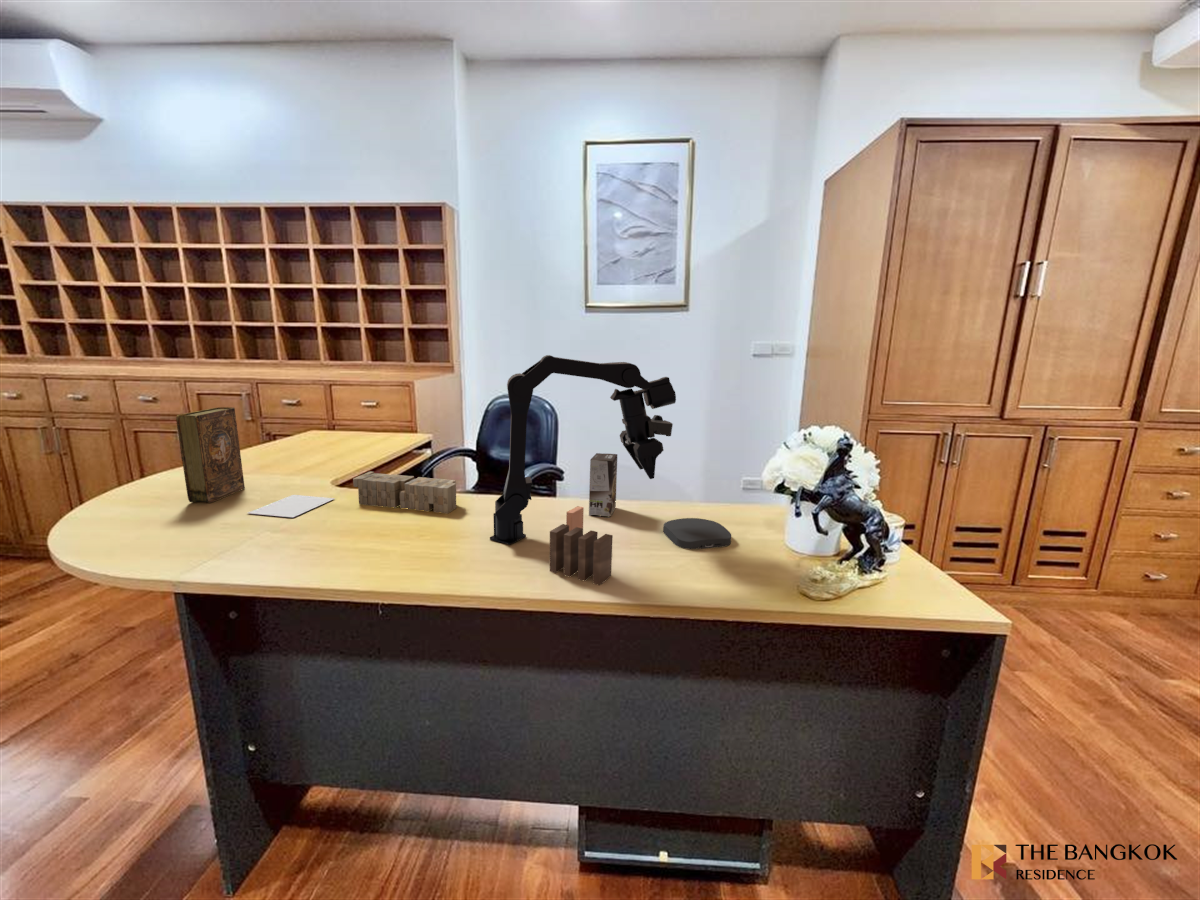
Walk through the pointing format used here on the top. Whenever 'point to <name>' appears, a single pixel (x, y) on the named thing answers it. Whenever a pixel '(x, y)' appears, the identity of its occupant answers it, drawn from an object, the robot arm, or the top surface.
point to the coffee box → (602, 484)
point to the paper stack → (291, 506)
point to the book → (210, 453)
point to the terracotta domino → (575, 518)
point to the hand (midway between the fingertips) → (646, 473)
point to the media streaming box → (697, 533)
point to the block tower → (406, 492)
